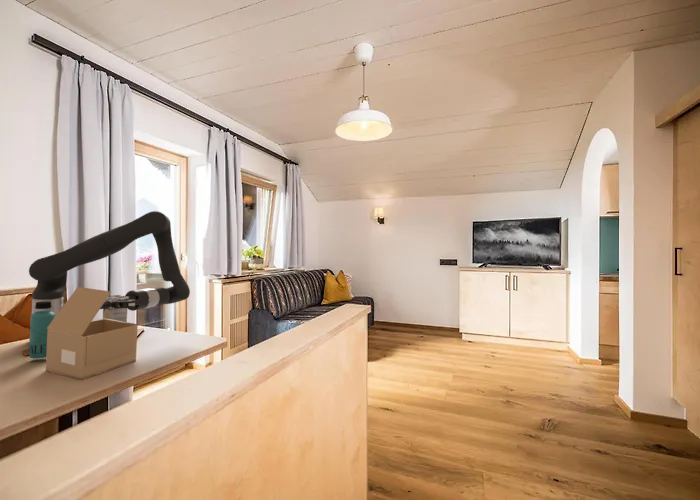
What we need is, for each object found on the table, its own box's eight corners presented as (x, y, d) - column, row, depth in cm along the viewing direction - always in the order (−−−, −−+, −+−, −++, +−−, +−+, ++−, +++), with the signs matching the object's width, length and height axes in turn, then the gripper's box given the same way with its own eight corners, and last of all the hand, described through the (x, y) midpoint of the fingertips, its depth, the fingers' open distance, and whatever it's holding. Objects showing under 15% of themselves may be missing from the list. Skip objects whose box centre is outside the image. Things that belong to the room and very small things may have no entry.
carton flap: (47, 329, 106) (46, 328, 106) (78, 287, 114) (77, 286, 114) (81, 336, 102) (79, 335, 101) (111, 292, 110) (110, 291, 109)
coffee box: (101, 332, 149) (102, 296, 149) (117, 329, 155) (119, 294, 154) (110, 336, 145) (112, 299, 144) (127, 333, 150) (128, 297, 150)
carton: (44, 370, 107) (46, 329, 107) (103, 353, 125) (104, 318, 124) (81, 380, 102) (83, 337, 102) (137, 361, 119) (139, 324, 119)
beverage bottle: (53, 355, 120) (55, 299, 119) (54, 360, 115) (57, 302, 115) (27, 359, 115) (30, 300, 115) (28, 364, 111) (30, 304, 110)
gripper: (129, 287, 131) (82, 292, 115) (156, 291, 127) (111, 297, 111) (129, 306, 131) (81, 314, 115) (155, 310, 127) (110, 320, 111)
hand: (96, 306), depth 113 cm, fingers closed
